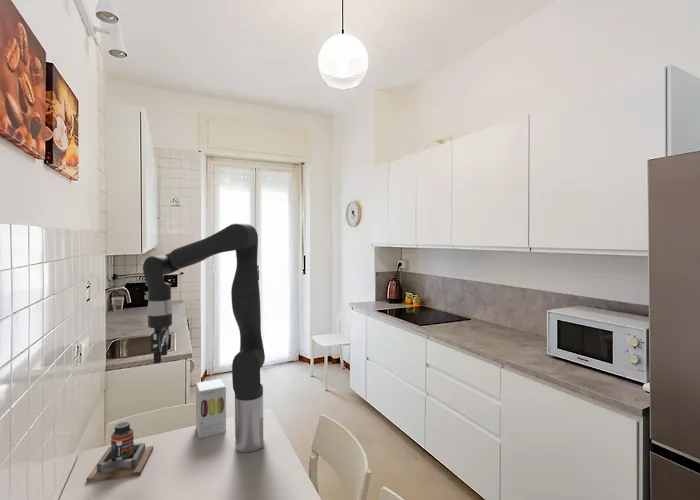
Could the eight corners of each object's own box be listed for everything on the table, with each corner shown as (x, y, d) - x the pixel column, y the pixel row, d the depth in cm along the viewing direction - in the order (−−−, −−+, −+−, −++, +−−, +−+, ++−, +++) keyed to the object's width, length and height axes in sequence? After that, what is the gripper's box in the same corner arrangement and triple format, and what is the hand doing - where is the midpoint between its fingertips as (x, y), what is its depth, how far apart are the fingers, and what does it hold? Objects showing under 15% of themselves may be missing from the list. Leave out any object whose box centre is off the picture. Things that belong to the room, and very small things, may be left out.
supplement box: (198, 439, 130) (197, 391, 129) (195, 427, 138) (194, 382, 138) (226, 432, 135) (226, 386, 134) (222, 421, 143) (221, 377, 142)
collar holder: (153, 449, 124) (153, 438, 123) (140, 475, 110) (140, 463, 110) (105, 455, 120) (105, 443, 120) (86, 482, 107) (86, 470, 106)
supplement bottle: (123, 467, 112) (122, 430, 111) (106, 465, 113) (105, 428, 112) (138, 456, 118) (137, 420, 117) (122, 454, 119) (121, 419, 118)
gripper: (166, 316, 123) (167, 364, 124) (176, 308, 137) (176, 352, 137) (141, 317, 121) (142, 366, 122) (153, 309, 135) (154, 353, 136)
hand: (160, 358), depth 130 cm, fingers open, 8 cm apart
